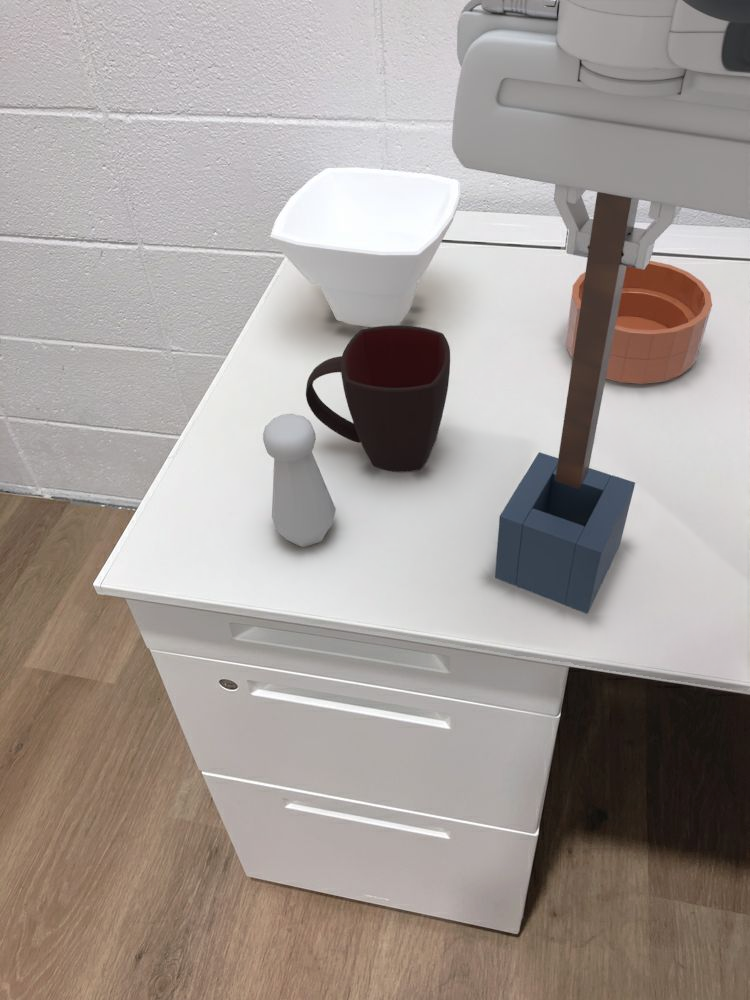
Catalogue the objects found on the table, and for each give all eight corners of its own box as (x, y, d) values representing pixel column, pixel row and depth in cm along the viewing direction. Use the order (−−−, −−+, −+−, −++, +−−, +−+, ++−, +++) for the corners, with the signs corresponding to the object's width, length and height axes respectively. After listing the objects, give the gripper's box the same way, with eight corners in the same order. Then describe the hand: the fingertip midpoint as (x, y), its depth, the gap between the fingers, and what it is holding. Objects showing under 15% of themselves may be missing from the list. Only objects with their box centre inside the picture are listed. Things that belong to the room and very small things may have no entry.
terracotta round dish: (710, 330, 93) (726, 276, 88) (676, 402, 84) (690, 347, 79) (590, 301, 98) (598, 249, 93) (546, 366, 90) (552, 313, 85)
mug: (444, 490, 77) (444, 393, 69) (304, 480, 80) (287, 384, 71) (453, 423, 84) (455, 326, 75) (325, 415, 86) (312, 320, 78)
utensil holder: (619, 545, 71) (635, 482, 66) (587, 614, 67) (601, 552, 61) (531, 514, 75) (538, 451, 69) (494, 577, 70) (499, 516, 64)
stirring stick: (588, 473, 63) (643, 175, 46) (579, 489, 62) (632, 189, 45) (563, 465, 64) (609, 169, 47) (554, 481, 63) (598, 183, 46)
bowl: (429, 370, 91) (428, 258, 81) (273, 345, 96) (254, 237, 86) (470, 283, 103) (473, 176, 92) (330, 265, 108) (318, 162, 98)
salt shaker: (346, 515, 76) (333, 409, 67) (324, 560, 72) (307, 455, 63) (290, 502, 78) (269, 398, 68) (265, 546, 74) (240, 442, 64)
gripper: (432, 2, 41) (434, 247, 51) (867, 44, 34) (770, 323, 44) (483, -31, 45) (475, 204, 55) (886, 0, 37) (792, 267, 47)
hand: (608, 257), depth 49 cm, fingers closed on stirring stick, 2 cm apart
